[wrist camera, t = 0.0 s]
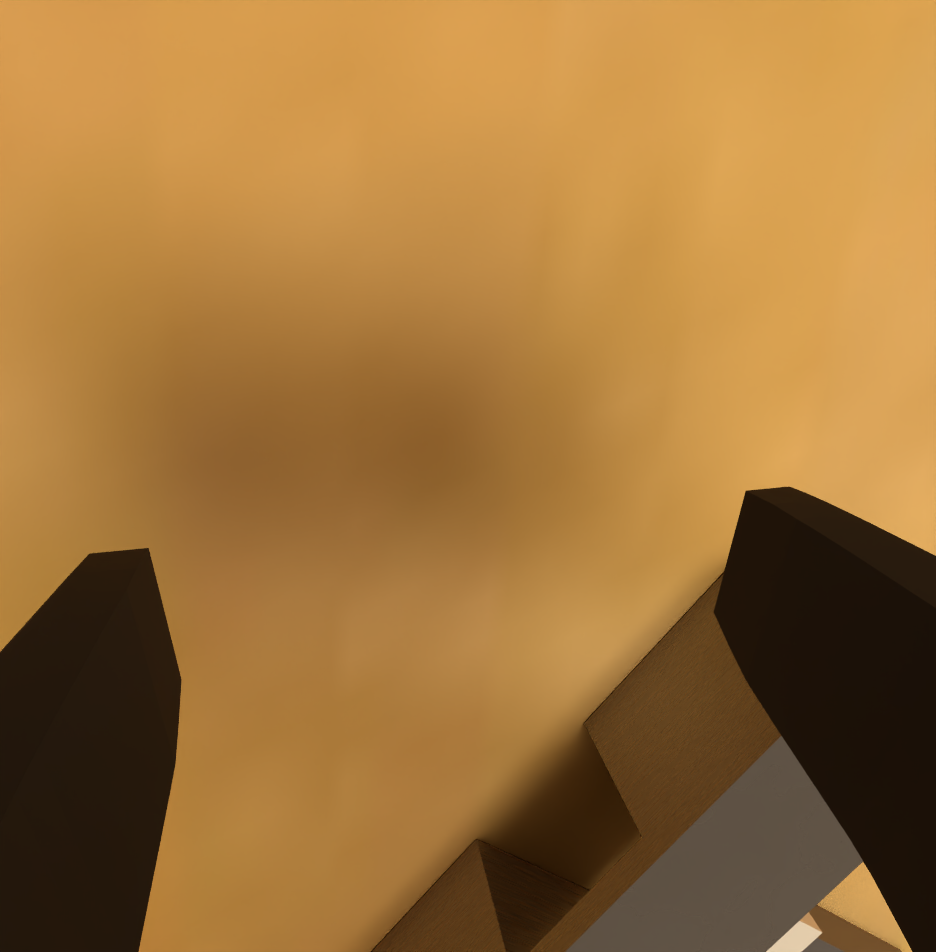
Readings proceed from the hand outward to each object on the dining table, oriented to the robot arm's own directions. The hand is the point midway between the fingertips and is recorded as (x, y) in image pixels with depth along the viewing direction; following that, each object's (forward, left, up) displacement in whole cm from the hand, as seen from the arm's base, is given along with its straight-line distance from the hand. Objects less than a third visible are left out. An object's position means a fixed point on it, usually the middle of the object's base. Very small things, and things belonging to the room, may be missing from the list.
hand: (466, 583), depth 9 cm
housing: (-8, -15, -11) cm, 20 cm away
